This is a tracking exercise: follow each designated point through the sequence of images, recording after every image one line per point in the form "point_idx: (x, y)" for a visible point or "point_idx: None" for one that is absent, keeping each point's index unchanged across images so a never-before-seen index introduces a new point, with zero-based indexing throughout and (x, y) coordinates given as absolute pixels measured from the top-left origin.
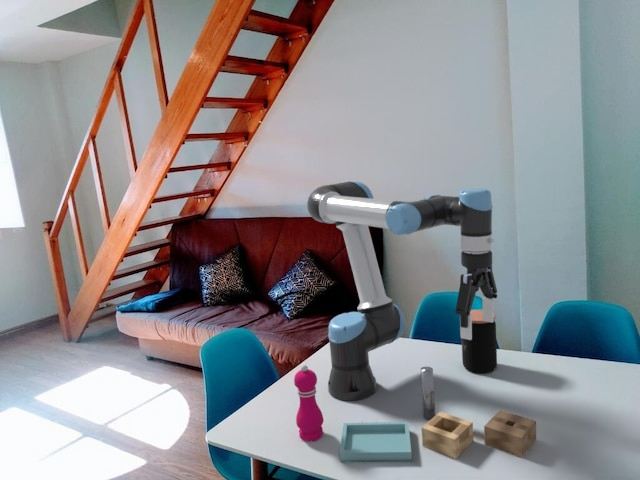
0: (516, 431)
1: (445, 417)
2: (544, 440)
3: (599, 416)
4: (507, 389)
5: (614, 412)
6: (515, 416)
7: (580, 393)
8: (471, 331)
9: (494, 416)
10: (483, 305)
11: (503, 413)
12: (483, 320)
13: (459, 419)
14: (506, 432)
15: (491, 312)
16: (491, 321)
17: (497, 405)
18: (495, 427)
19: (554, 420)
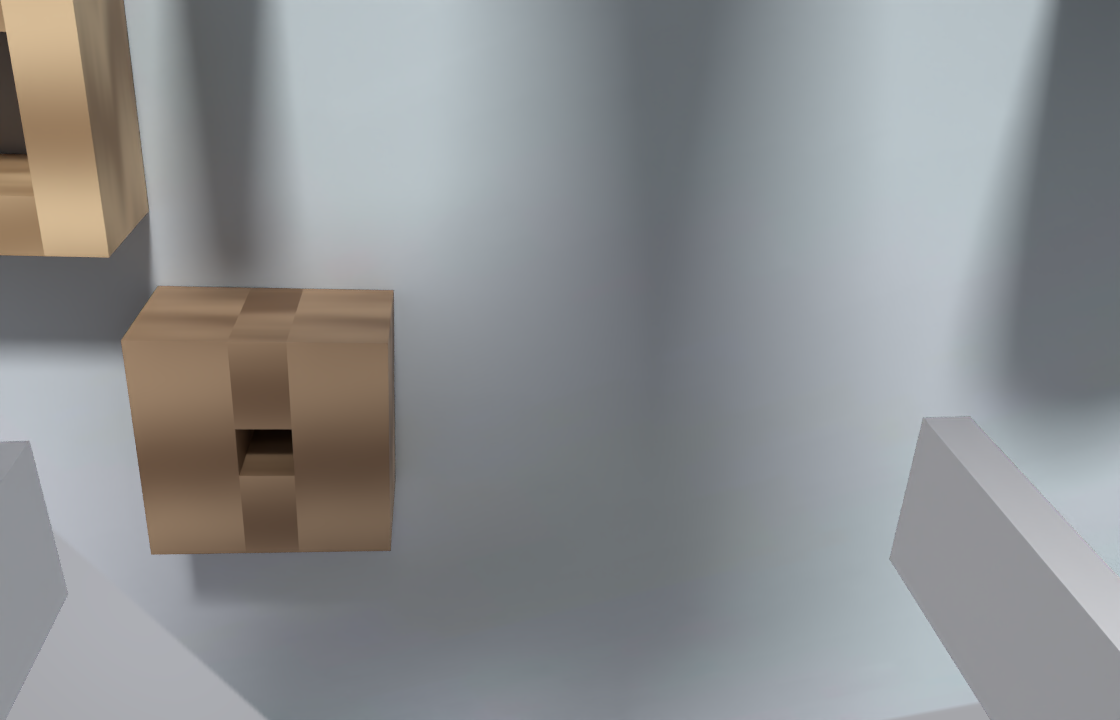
0: (199, 511)
1: (20, 50)
2: (410, 512)
3: (774, 632)
4: (906, 147)
5: (841, 667)
6: (364, 449)
7: None
8: (1, 699)
9: (282, 347)
10: (1086, 640)
11: (355, 379)
12: (923, 434)
13: (74, 161)
14: (148, 473)
15: (974, 677)
16: (898, 558)
17: (653, 172)
18: (155, 402)
19: (635, 492)
